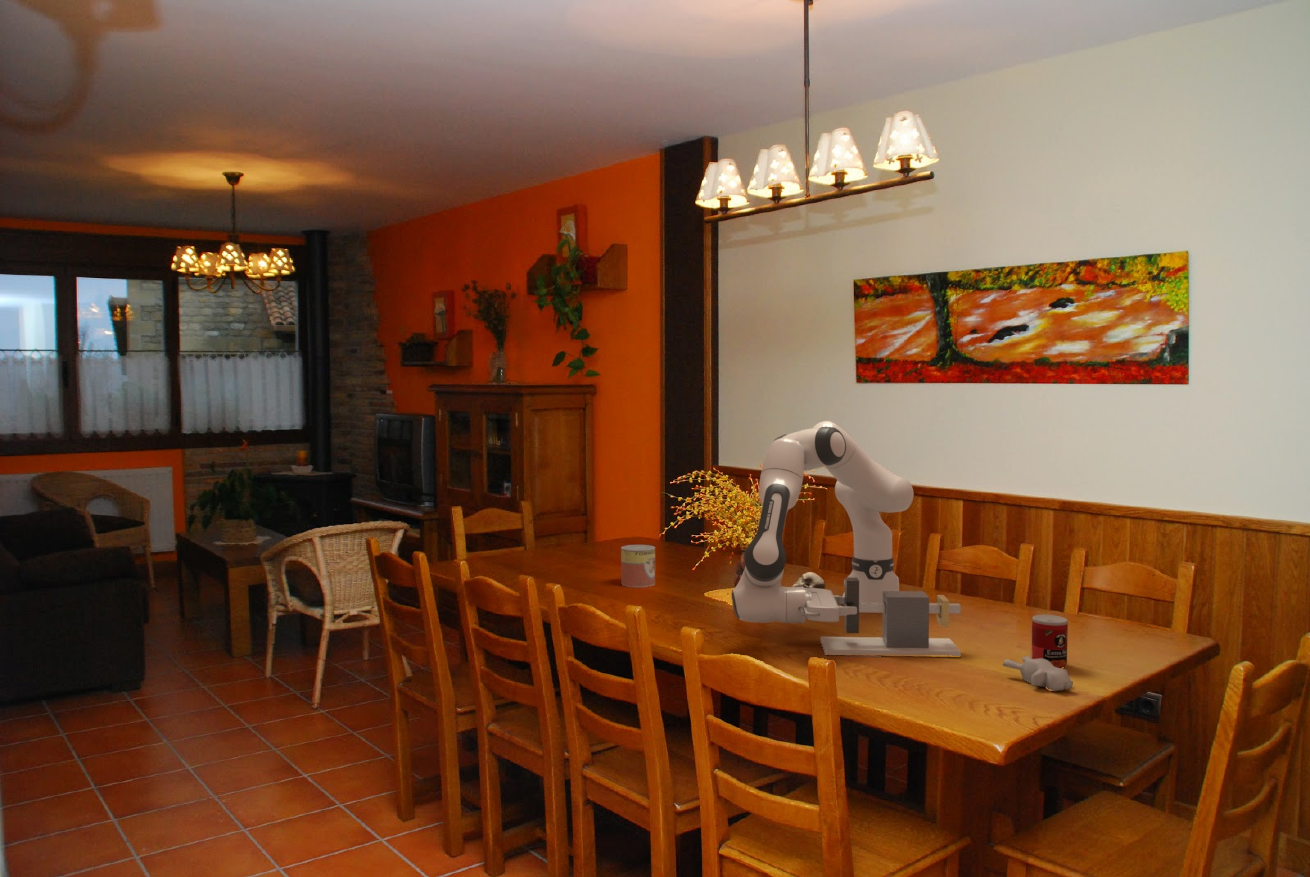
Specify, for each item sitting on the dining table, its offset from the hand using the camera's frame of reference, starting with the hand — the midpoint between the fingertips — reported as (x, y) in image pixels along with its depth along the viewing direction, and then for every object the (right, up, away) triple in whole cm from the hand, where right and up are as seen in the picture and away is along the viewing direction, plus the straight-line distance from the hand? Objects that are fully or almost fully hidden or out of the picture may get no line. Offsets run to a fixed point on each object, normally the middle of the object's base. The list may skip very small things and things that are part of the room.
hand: (854, 605), depth 243 cm
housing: (+12, -11, 0) cm, 17 cm away
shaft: (+12, -6, -1) cm, 13 cm away
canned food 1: (-54, -7, +81) cm, 98 cm away
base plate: (+8, -11, 0) cm, 14 cm away
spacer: (+21, -4, -1) cm, 22 cm away
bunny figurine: (+35, -13, -27) cm, 46 cm away
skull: (-2, -8, +60) cm, 60 cm away
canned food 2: (+43, -12, -14) cm, 46 cm away
